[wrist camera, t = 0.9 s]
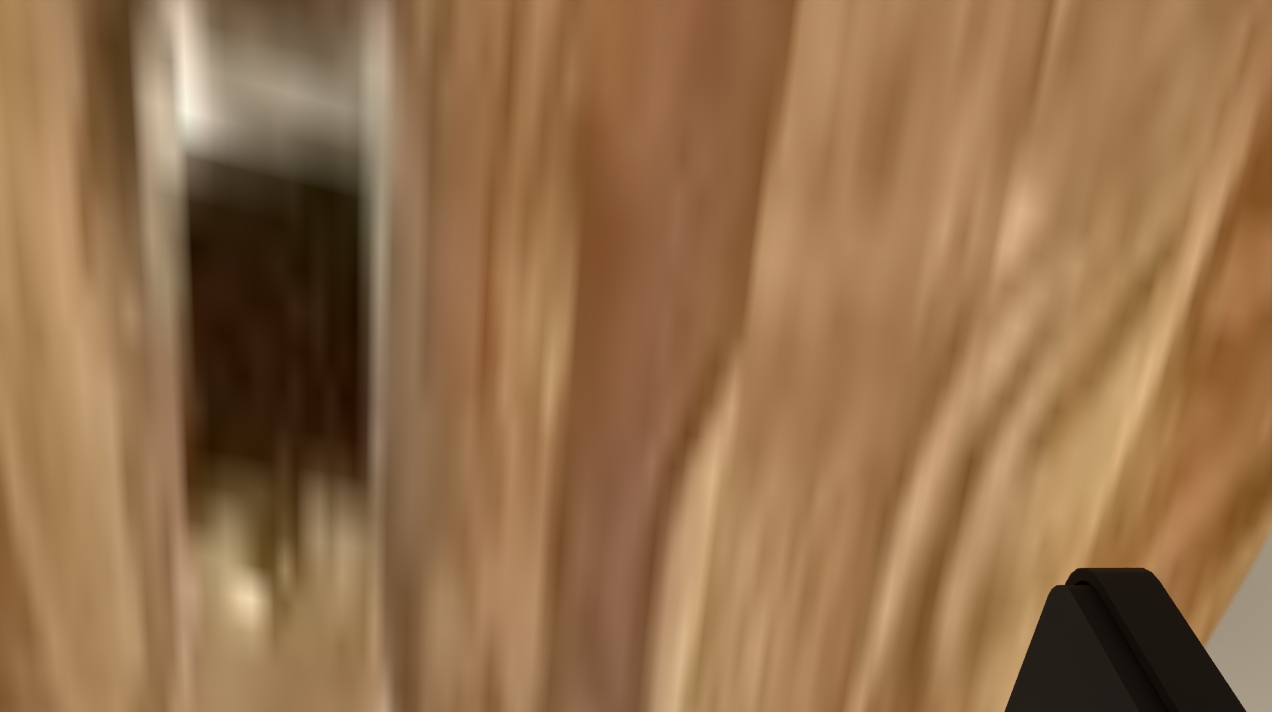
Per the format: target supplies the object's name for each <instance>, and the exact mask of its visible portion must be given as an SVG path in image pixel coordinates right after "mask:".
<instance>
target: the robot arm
mask: <svg viewBox="0 0 1272 712" xmlns="http://www.w3.org/2000/svg"><path fill="white" fill-rule="evenodd" d="M1005 712H1246V710H1245V709H1244V708H1243V706H1242V704H1241V703H1240V701H1239V700H1238V698H1237V697H1236V695H1235V694H1234V692H1233V691H1232V689H1231V688H1230V686H1229V685H1228V683H1227V682H1226V680H1225V679H1224V677H1223V676H1222V675H1221V673H1220V671H1219V670H1218V668H1217V667H1216V665H1215V664H1214V662H1213V661H1212V659H1211V658H1210V656H1209V655H1208V653H1207V652H1206V650H1205V649H1204V647H1203V646H1202V644H1201V643H1200V641H1199V640H1198V638H1197V637H1196V635H1195V634H1194V632H1193V631H1192V629H1191V628H1190V626H1189V625H1188V623H1187V622H1186V620H1185V619H1184V617H1183V616H1182V614H1181V613H1180V611H1179V610H1178V608H1177V607H1176V605H1175V604H1174V602H1173V601H1172V599H1171V598H1170V596H1169V595H1168V593H1167V592H1166V590H1165V588H1164V587H1163V585H1162V584H1161V582H1160V581H1159V580H1158V579H1157V578H1156V577H1155V575H1154V574H1153V573H1152V572H1150V571H1148V570H1146V569H1144V568H1078V569H1076V570H1075V571H1074V572H1072V573H1071V574H1070V576H1069V578H1068V580H1067V582H1066V583H1065V585H1056V586H1055V587H1054V588H1053V589H1052V590H1051V591H1050V593H1049V595H1048V597H1047V600H1046V603H1045V605H1044V608H1043V611H1042V613H1041V616H1040V619H1039V621H1038V624H1037V627H1036V629H1035V632H1034V635H1033V637H1032V640H1031V643H1030V645H1029V648H1028V651H1027V653H1026V656H1025V659H1024V661H1023V664H1022V666H1021V669H1020V672H1019V674H1018V677H1017V680H1016V682H1015V685H1014V688H1013V690H1012V693H1011V696H1010V698H1009V701H1008V704H1007V706H1006V709H1005Z"/></svg>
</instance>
